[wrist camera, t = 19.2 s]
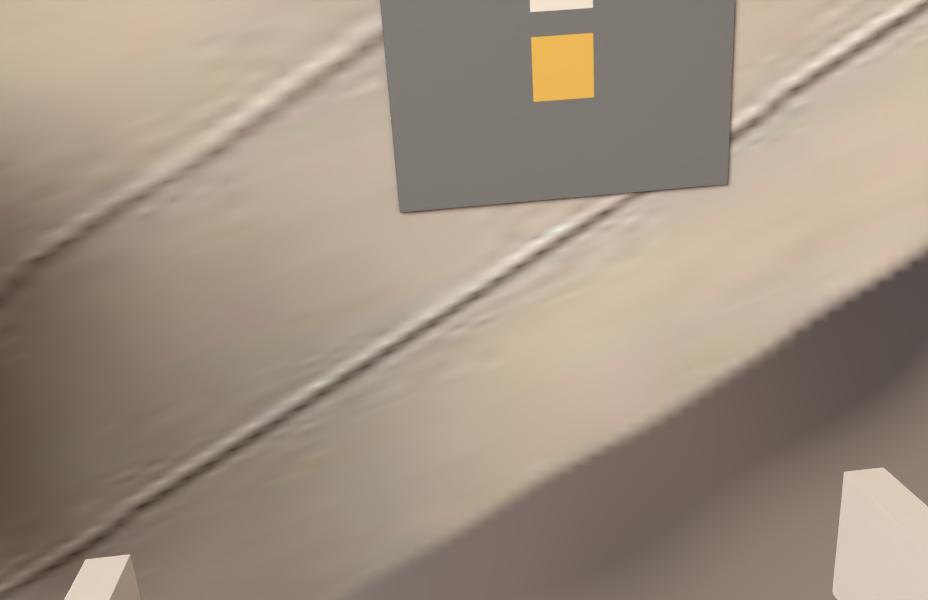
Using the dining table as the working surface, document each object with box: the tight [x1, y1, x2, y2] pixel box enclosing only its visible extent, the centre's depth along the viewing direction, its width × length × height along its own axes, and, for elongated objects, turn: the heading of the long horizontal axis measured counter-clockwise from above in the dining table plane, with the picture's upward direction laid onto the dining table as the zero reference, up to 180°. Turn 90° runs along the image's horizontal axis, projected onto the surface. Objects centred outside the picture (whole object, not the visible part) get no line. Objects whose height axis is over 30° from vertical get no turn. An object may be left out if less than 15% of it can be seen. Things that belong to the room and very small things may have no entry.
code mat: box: [380, 0, 735, 212], centre depth 42 cm, size 18×18×1 cm
